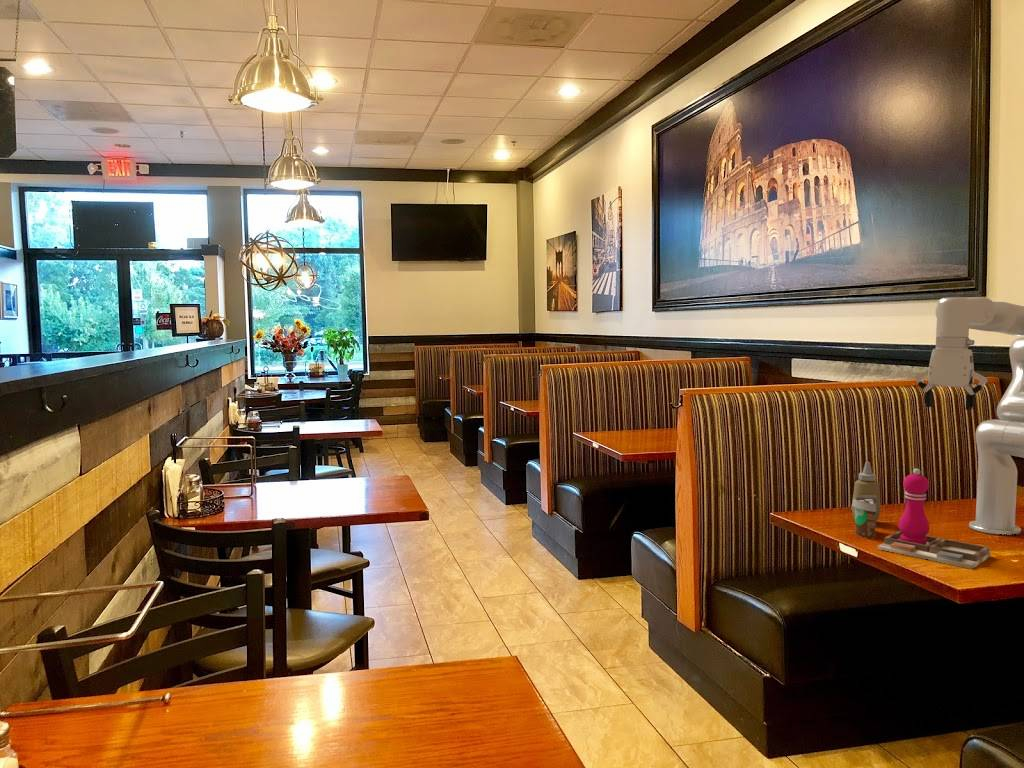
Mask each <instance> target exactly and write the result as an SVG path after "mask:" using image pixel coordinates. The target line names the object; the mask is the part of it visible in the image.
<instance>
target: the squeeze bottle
mask: <svg viewBox="0 0 1024 768" xmlns="http://www.w3.org/2000/svg"><path fill="white" fill-rule="evenodd" d="M876 479H877V475H876V474H875V473H873V470H872V466H871V462H870V461H865V463H864V467H863V470H862V472H859V473H858V480H856V481H855V482H854V487H853V495H852V499H851V502H852V503H853V500H854V499H855V497H857V496H865V495H870V496H877V504H876V523H877V522H878V519H879V517H880V515H881V512H882V509H881V507H882V506H881V493H880V483H879V482H877V481H876ZM852 503H851V504H852ZM850 508H851V511H852V515H853V516H852V517H853V520H855V507H853V506H852V505H851V506H850Z"/></svg>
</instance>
